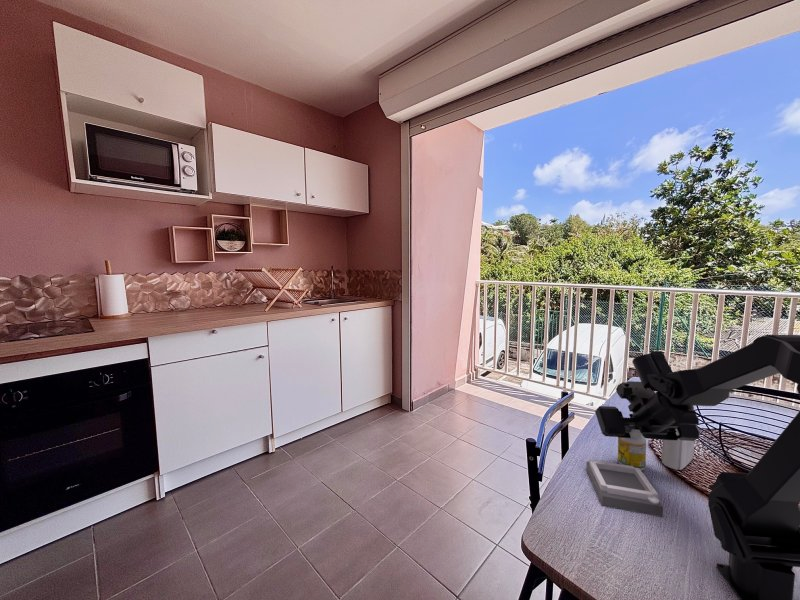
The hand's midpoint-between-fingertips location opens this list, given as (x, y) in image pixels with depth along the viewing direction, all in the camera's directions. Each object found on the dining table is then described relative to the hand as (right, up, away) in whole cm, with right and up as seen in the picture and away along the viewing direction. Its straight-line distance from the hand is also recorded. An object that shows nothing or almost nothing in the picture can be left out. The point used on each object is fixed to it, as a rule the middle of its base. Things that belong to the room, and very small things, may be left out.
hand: (628, 435), depth 76 cm
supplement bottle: (0, -7, -1) cm, 7 cm away
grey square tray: (-9, -8, -9) cm, 15 cm away
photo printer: (+12, -7, +1) cm, 14 cm away
